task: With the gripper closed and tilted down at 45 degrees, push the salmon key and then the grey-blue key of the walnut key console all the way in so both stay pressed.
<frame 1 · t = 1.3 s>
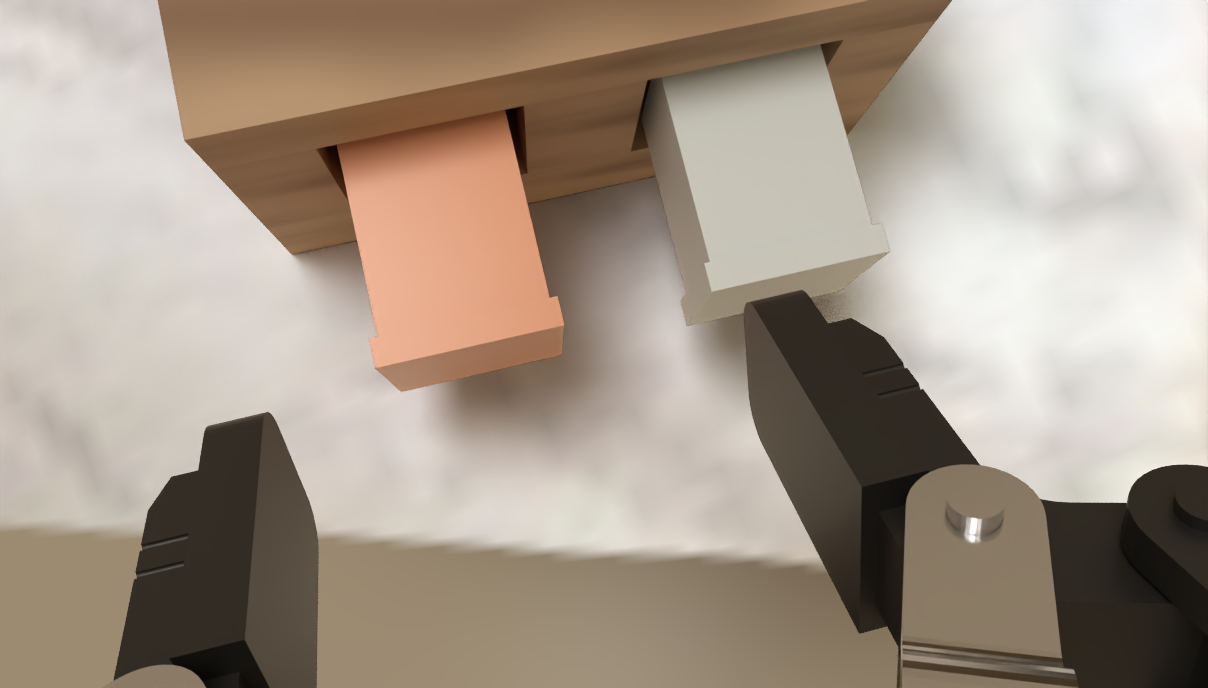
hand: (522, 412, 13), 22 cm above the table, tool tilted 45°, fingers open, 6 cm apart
console: (544, 61, 38), on the table
grey key: (751, 181, 31), point 6 cm above the table, slide at 0.0 cm
salmon key: (451, 247, 31), point 6 cm above the table, slide at 0.0 cm
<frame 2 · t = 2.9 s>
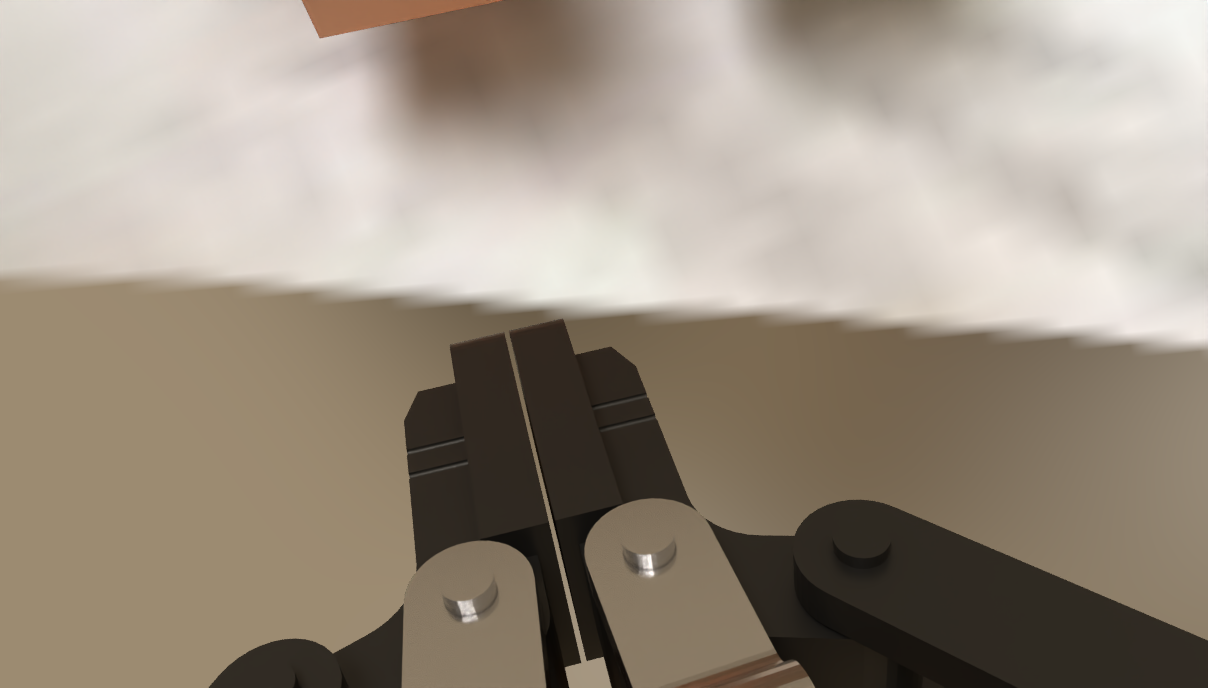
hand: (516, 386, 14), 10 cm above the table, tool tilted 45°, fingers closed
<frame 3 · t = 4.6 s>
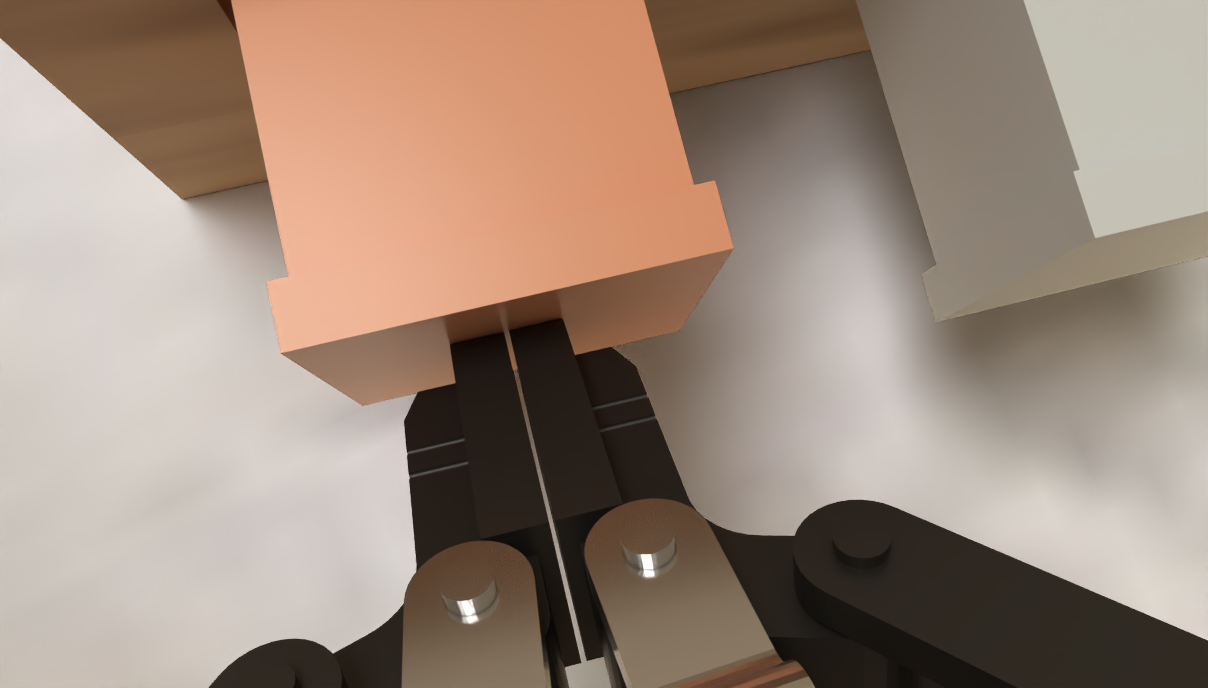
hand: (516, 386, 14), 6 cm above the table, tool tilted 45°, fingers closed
grey key: (1095, 20, 15), point 6 cm above the table, slide at 0.0 cm
salmon key: (461, 100, 14), point 6 cm above the table, slide at 0.8 cm, touching gripper
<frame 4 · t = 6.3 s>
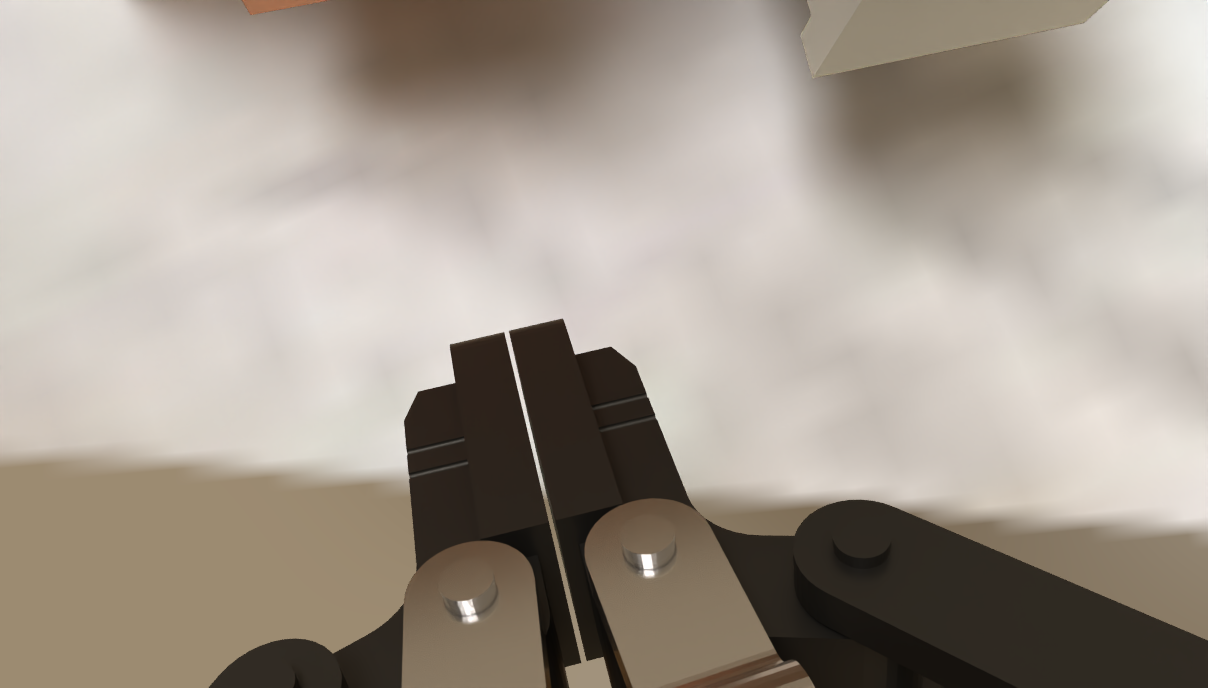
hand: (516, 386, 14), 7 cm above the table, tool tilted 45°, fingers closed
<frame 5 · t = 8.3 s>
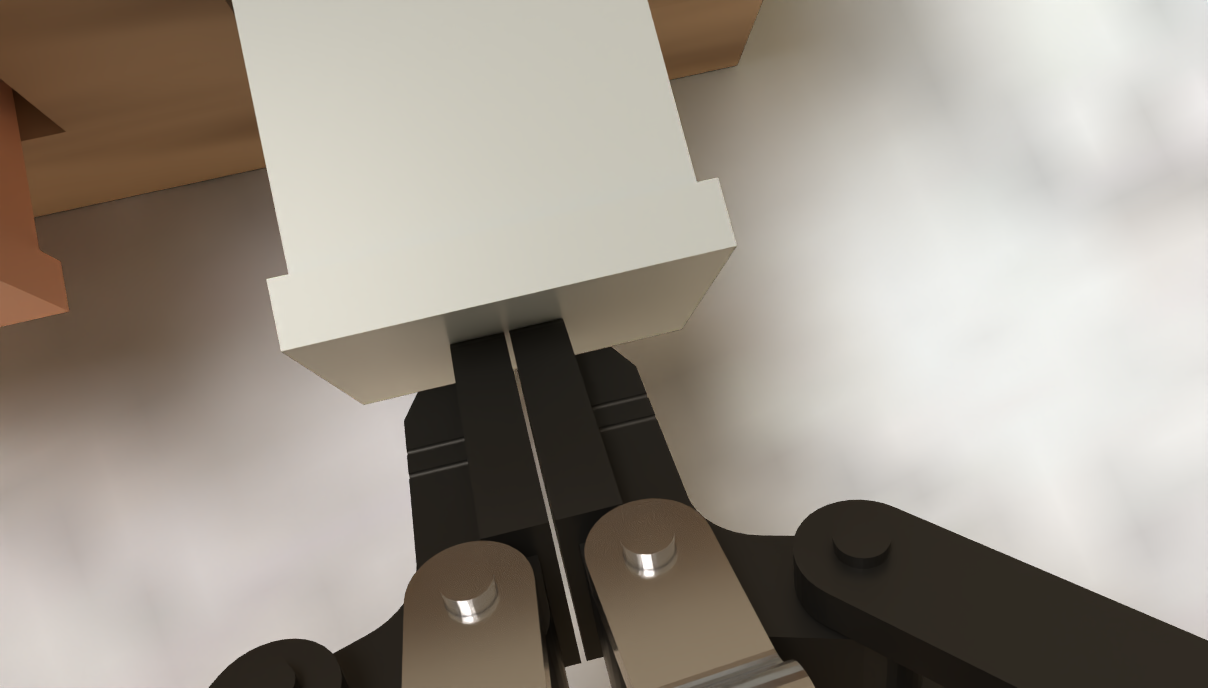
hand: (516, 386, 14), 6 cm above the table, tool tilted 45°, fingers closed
grey key: (462, 97, 14), point 6 cm above the table, slide at 0.6 cm, touching gripper
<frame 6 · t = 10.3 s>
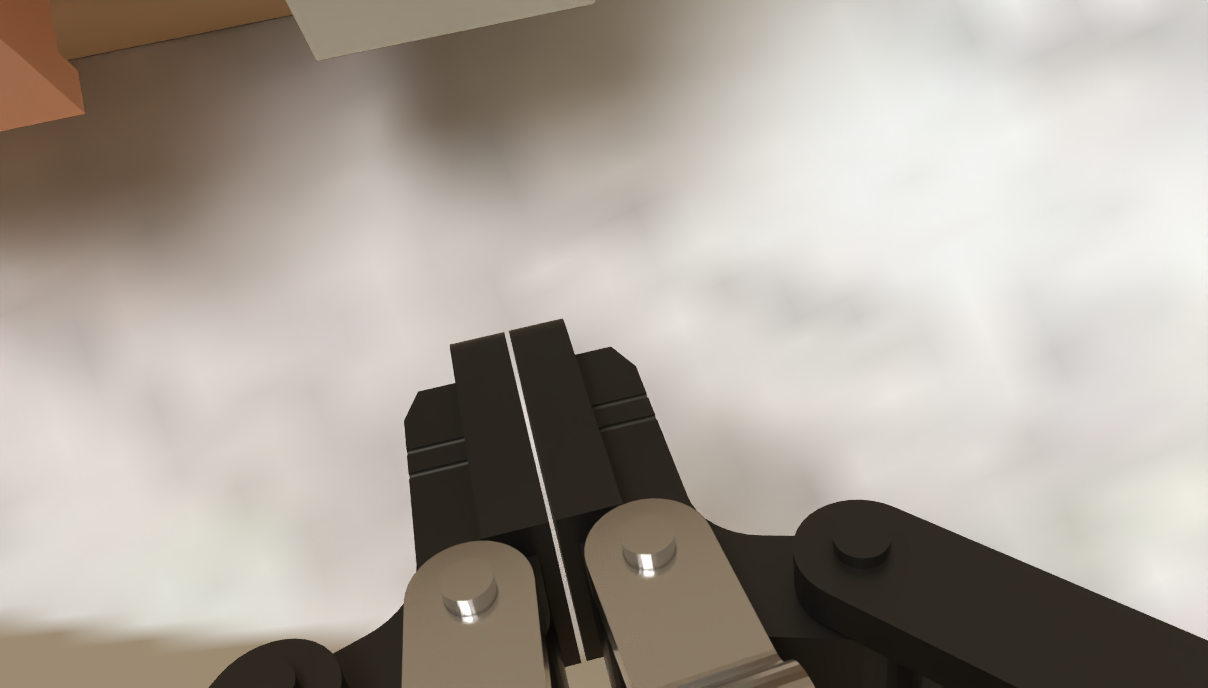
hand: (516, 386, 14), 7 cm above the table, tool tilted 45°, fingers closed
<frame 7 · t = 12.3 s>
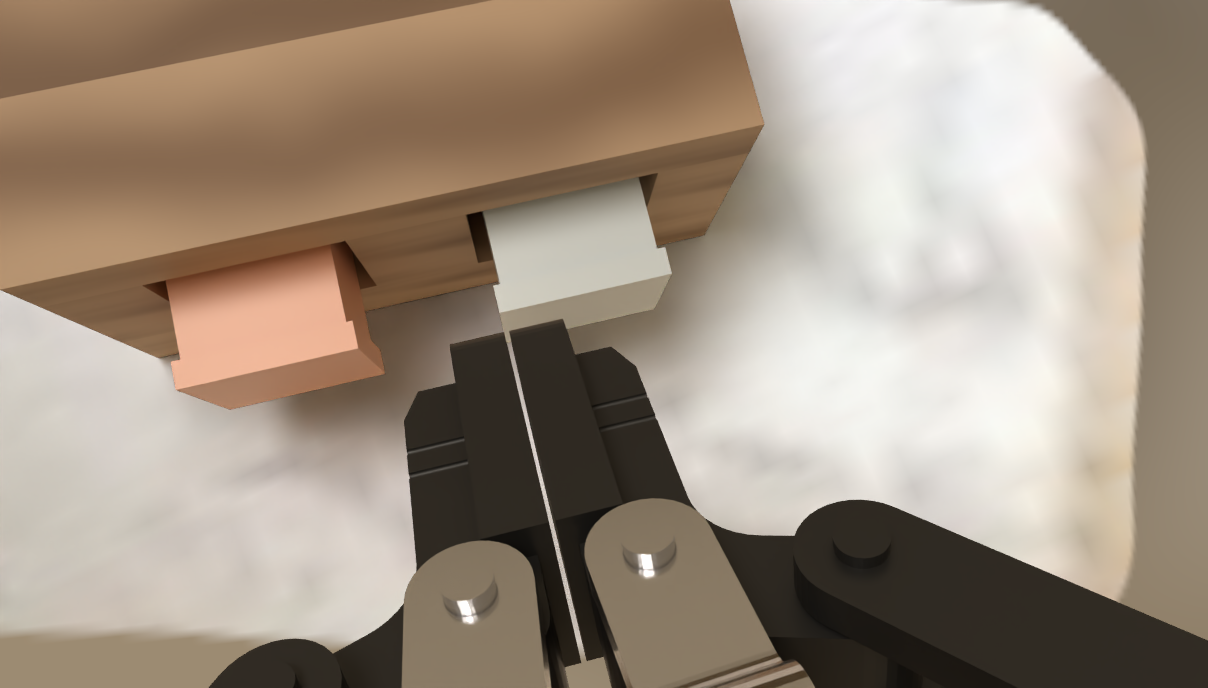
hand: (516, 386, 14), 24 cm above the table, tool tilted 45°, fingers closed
console: (408, 165, 39), on the table
grey key: (557, 205, 33), point 6 cm above the table, slide at 3.1 cm
salmon key: (267, 272, 32), point 6 cm above the table, slide at 3.0 cm
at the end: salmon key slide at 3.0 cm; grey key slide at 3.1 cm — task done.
